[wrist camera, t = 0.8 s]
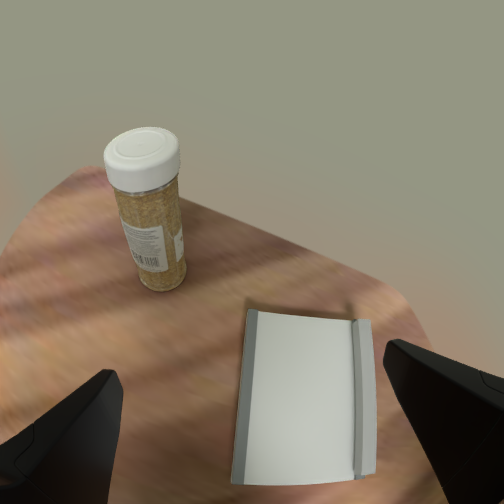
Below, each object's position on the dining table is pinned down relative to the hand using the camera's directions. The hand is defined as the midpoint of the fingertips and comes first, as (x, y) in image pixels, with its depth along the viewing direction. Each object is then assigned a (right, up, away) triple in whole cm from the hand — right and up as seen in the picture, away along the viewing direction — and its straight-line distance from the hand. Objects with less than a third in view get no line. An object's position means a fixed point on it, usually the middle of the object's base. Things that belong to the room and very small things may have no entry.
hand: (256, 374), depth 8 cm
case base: (+4, -8, +12) cm, 15 cm away
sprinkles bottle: (-8, +2, +17) cm, 19 cm away
